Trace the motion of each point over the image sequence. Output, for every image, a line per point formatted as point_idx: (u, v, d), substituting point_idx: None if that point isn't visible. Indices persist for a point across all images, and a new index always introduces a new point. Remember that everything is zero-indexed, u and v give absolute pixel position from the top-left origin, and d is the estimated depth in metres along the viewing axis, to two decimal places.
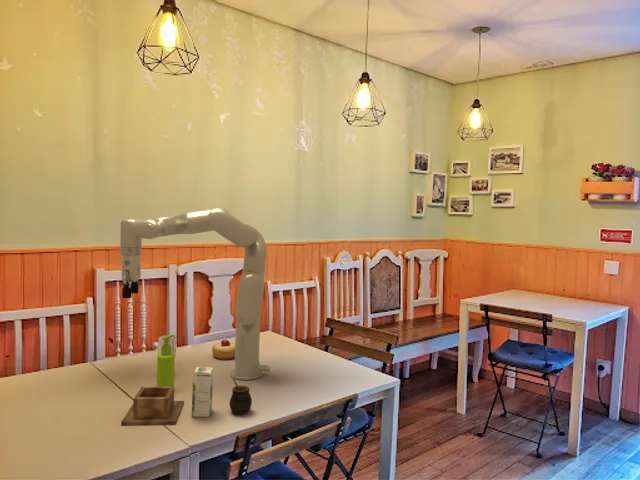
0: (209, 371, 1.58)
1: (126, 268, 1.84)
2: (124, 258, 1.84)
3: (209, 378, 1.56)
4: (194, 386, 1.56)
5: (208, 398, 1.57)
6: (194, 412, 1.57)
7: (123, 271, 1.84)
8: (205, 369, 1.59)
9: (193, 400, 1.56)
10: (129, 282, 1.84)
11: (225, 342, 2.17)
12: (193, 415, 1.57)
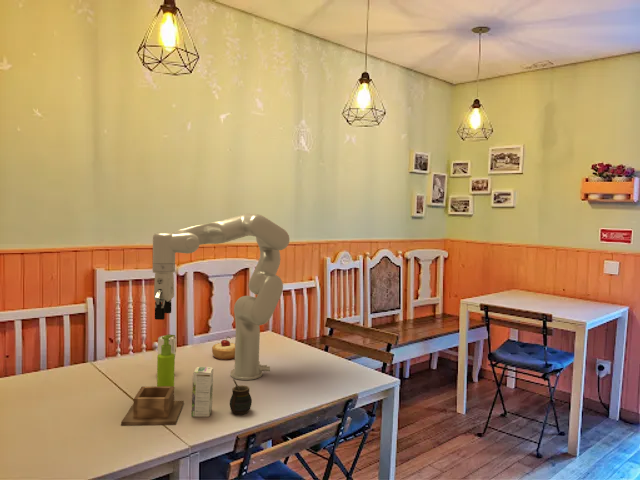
0: (209, 371, 1.58)
1: (159, 287, 1.68)
2: (157, 276, 1.68)
3: (209, 378, 1.56)
4: (194, 386, 1.56)
5: (208, 398, 1.57)
6: (194, 412, 1.57)
7: (156, 290, 1.68)
8: (205, 369, 1.59)
9: (193, 400, 1.56)
10: (162, 302, 1.68)
11: (225, 342, 2.17)
12: (193, 415, 1.57)
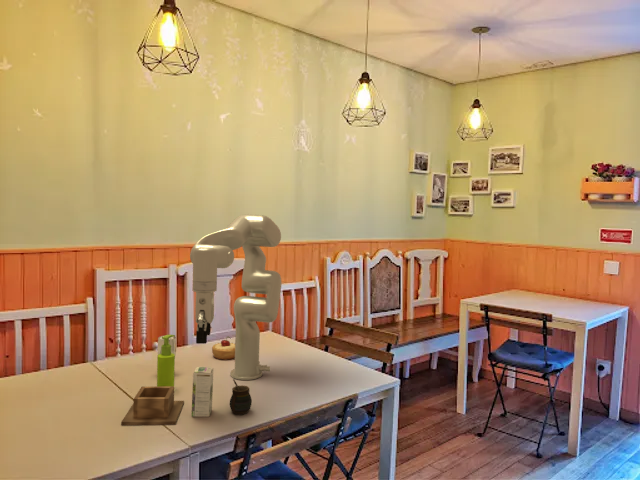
0: (209, 371, 1.58)
1: (201, 307, 1.53)
2: (198, 295, 1.53)
3: (209, 378, 1.56)
4: (194, 386, 1.56)
5: (208, 398, 1.57)
6: (194, 412, 1.57)
7: (197, 311, 1.53)
8: (205, 369, 1.59)
9: (193, 400, 1.56)
10: (204, 324, 1.53)
11: (225, 342, 2.17)
12: (193, 415, 1.57)
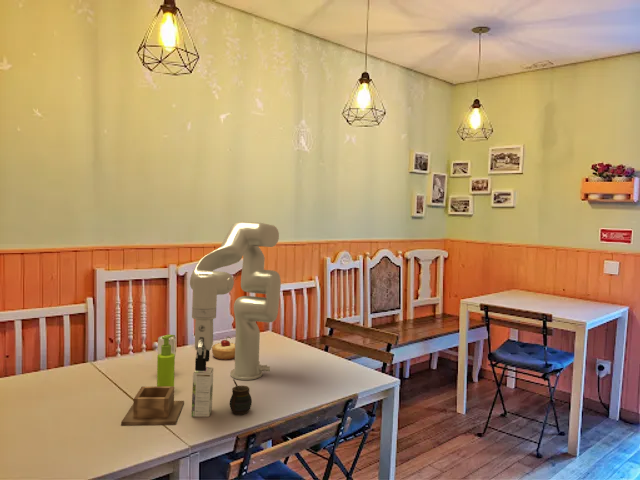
0: (209, 371, 1.58)
1: (200, 335, 1.53)
2: (198, 322, 1.53)
3: (209, 378, 1.56)
4: (194, 386, 1.56)
5: (208, 398, 1.57)
6: (194, 412, 1.57)
7: (197, 338, 1.53)
8: None
9: (193, 400, 1.56)
10: (204, 351, 1.53)
11: (225, 342, 2.17)
12: (193, 415, 1.57)
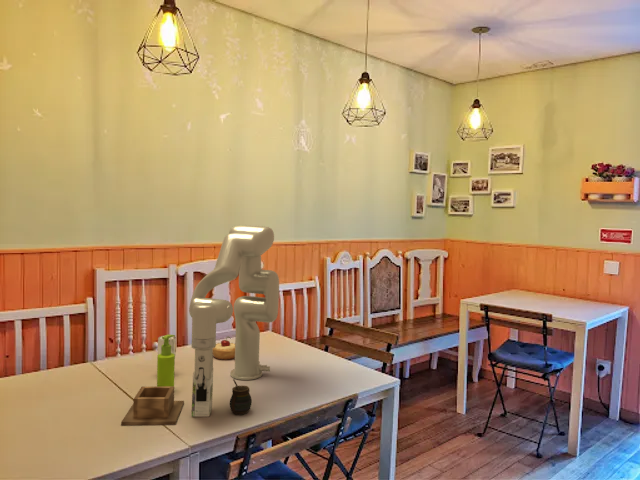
0: None
1: (200, 365, 1.54)
2: (198, 353, 1.54)
3: None
4: (194, 386, 1.56)
5: (208, 398, 1.57)
6: (194, 411, 1.57)
7: (197, 368, 1.54)
8: None
9: (193, 400, 1.56)
10: (204, 383, 1.55)
11: (225, 342, 2.17)
12: (193, 415, 1.57)
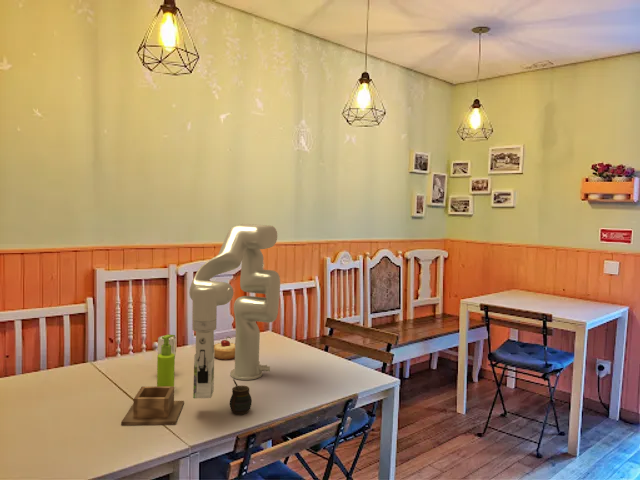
0: None
1: (201, 347, 1.54)
2: (198, 335, 1.54)
3: None
4: (195, 368, 1.56)
5: (210, 380, 1.57)
6: (196, 393, 1.57)
7: (198, 351, 1.54)
8: None
9: (195, 382, 1.57)
10: (205, 365, 1.55)
11: (225, 342, 2.17)
12: (195, 397, 1.57)
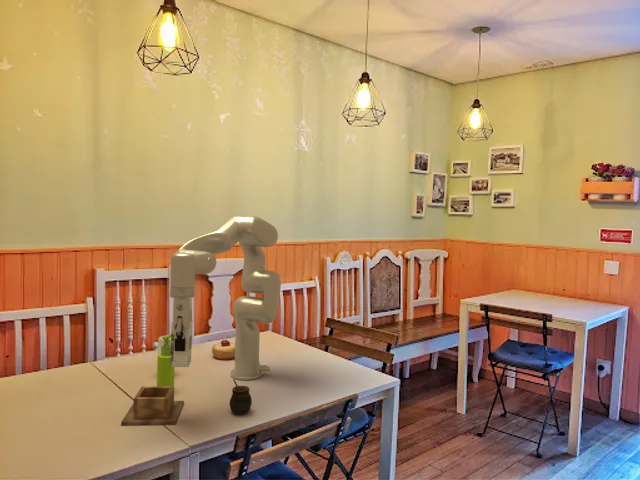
0: None
1: (179, 313, 1.52)
2: (176, 301, 1.52)
3: None
4: (173, 336, 1.54)
5: (187, 348, 1.55)
6: (173, 362, 1.55)
7: (175, 317, 1.52)
8: None
9: (172, 350, 1.54)
10: (183, 332, 1.53)
11: (225, 342, 2.17)
12: (172, 365, 1.55)
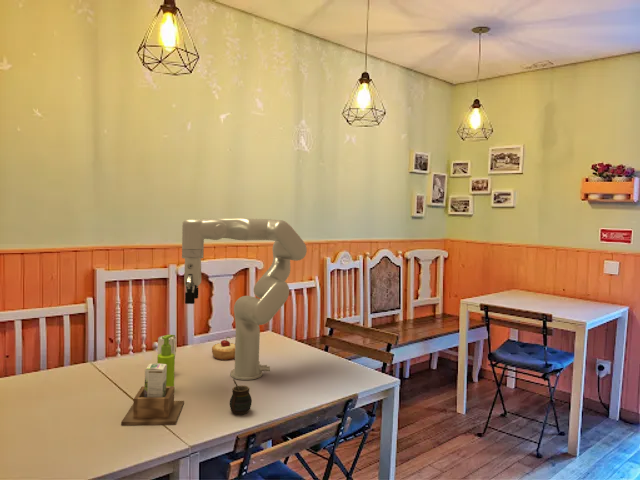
0: (162, 367, 1.56)
1: (189, 272, 1.73)
2: (187, 261, 1.73)
3: (161, 375, 1.55)
4: (146, 383, 1.55)
5: (161, 395, 1.55)
6: None
7: (186, 275, 1.73)
8: (158, 366, 1.57)
9: None
10: (192, 287, 1.73)
11: (225, 342, 2.17)
12: None
